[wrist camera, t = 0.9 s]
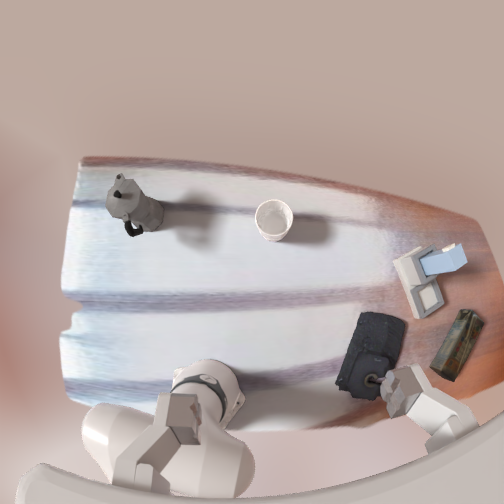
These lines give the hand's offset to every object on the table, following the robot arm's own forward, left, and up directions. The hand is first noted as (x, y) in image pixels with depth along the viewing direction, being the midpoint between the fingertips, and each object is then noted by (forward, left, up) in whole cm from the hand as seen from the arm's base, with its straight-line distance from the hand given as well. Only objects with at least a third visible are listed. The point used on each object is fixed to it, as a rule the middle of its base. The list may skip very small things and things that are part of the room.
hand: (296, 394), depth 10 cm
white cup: (+18, +7, -55) cm, 59 cm away
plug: (+22, -30, -47) cm, 60 cm away
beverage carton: (+8, -52, -56) cm, 77 cm away
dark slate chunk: (-2, -28, -56) cm, 63 cm away
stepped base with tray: (+19, -33, -55) cm, 67 cm away
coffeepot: (+9, +38, -55) cm, 68 cm away
